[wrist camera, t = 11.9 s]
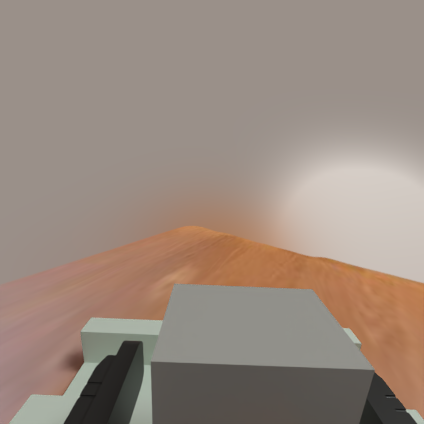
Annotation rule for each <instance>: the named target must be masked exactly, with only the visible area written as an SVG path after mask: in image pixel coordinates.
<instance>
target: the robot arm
mask: <svg viewBox="0 0 424 424" xmlns="http://www.w3.org/2000/svg"><path fill="white" fill-rule="evenodd" d="M143 375H144V355H143V342H142V341H126V340H125V341H123V343H122V344H121V346H120V348H119V350H118V352H117V354H116V355H107V356H106V357H105V358H104V359H103V360H102V361H101V362H100V363H99V364H98V365H97V366H96V367H95V369H94V371H93V373H92V374H91V376H90V378H89V380H88V381H87V385H85V387H84V388H83V390H82V392H81V394H80V397H79V398H78V399H77V401H76V403H75V404H74V406H73V408H72V410H71V411H70V413H69V415H68V417H67V418H66V420H65V422H64V424H129V423H130V420H131V417H132V414H133V411H134V408H135V405H136V401H137V398H138V395H139V392H140V389H141V385H142V381H143ZM359 424H417V423H416V421H415V420H414V419H413V418H412V416H411V415H410V414H409V413H407V411H406V409H405V407H404V406H403V405H402V403H401V402H400V401H399V400H398V399H397V398H396V397H395V394H394V393H393V392H392V391H391V389H390V388H389V387H388V385H387V384H386V383H385V382H384V380H383V379H382V378H381V377H379V376H378V375H377V374H376V373H375V372H374V375H373V378H372V382H371V385H370V388H369V392H368V395H367V399H366V402H365V405H364V409H363V412H362V416H361V419H360V422H359Z"/></svg>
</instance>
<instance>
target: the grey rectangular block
mask: <svg viewBox="0 0 424 424" xmlns="http://www.w3.org/2000/svg"><path fill="white" fill-rule="evenodd" d="M374 371H375V369H374V368H373V367H372V365H371V364H370V363H369V362H368V360H367V359H366V358H365V356H364V355H363V354H362V353H361V351H360V350H359V349H358V348H357V346H356V345H355V344H354V342H353V341H352V340H351V339H350V337H349V336H348V335H347V333H346V332H345V331H344V330H343V328H342V327H341V326H340V324H339V323H338V322H337V321H336V319H335V318H334V317H333V315H332V314H331V313H330V312H329V310H328V309H327V308H326V306H325V305H324V304H323V303H322V301H321V300H320V299H319V298H318V296H317V295H316V294H315V292H314V291H313V290H312V289H288V288H263V287H239V286H215V285H191V284H174V287H173V290H172V293H171V297H170V300H169V303H168V306H167V310H166V313H165V316H164V319H163V323H162V326H161V329H160V332H159V336H158V339H157V342H156V346H155V349H154V352H153V355H152V359H151V392H152V424H359V422H360V419H361V416H362V412H363V409H364V405H365V402H366V399H367V395H368V392H369V388H370V385H371V382H372V378H373V375H374Z"/></svg>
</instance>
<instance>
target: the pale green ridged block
mask: <svg viewBox="0 0 424 424" xmlns="http://www.w3.org/2000/svg"><path fill="white" fill-rule="evenodd" d="M162 323H163V321H160V320H136V319H113V318H91V319H90V320H89V321H88V323H87V324H86V325H85V326H84V328H83V329H82V330H81V340H82V348H83V357H84V364H83V365H82V367H81V368H80V370H79V371H78V373H77V375H76V376H75V378H74V379H73V381H72V382H71V384H70V386H69V387H68V389H67V390H66V392H65V393H64V395H63V396H56V395H31V396H30V397H29V399H28V400H27V401H26V402H25V404H24V405H23V406H22V408H21V409H20V410H19V411H18V413H17V414H16V415H15V417H14V418H13V419H12V420H11V422H10V423H9V424H64V422H65V420H66V418H67V417H68V415H69V413H70V411H71V410H72V408H73V406H74V404H75V403H76V401H77V399H78V398H79V397H80V394H81V392H82V390H83V388H84V387H85V385H87V381H88V380H89V378H90V376H91V374H92V373H93V371H94V369H95V367H96V366H97V365H98V364H99V363H100V362H101V361H102V360H103V359H104V358H105V357H106V356H107V355H116V354H117V352H118V350H119V348H120V346H121V344H122V343H123V341H125V340H126V341H142V342H143V355H144V375H143V381H142V385H141V389H140V392H139V395H138V398H137V401H136V405H135V408H134V411H133V414H132V417H131V420H130V423H129V424H152V392H151V359H152V355H153V352H154V349H155V346H156V342H157V339H158V336H159V332H160V329H161V326H162ZM343 330H344V331H345V332H346V333H347V335H348V336H349V337H350V339H351V340H352V341H353V342H354V344H355V345H356V346H357V348H358V349H359V350H360V348H361V344H362V343H361V342H360V341H359V340H358V338H357V337H356V336H355V335H354V334H353V332H352V331H351V330H350V329H347V328H343ZM406 411H407V413H409V414H410V415H411V416H412V418H413V419H414V420H415V421H416V423H417V424H424V419H423V418H422V417H421V416H420V415H419V413H418V412H417V411H416V410H406Z"/></svg>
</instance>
